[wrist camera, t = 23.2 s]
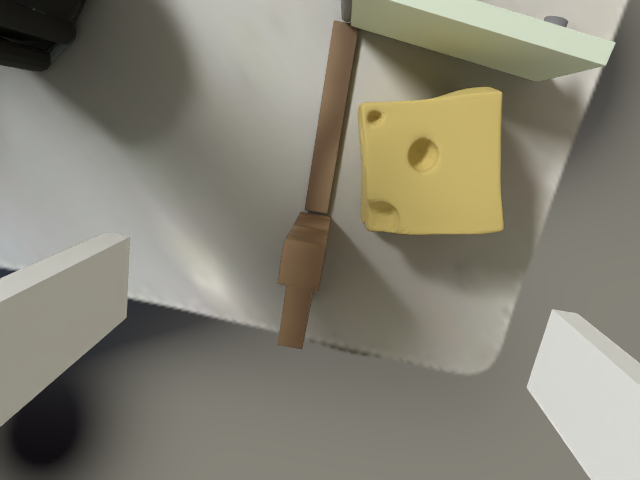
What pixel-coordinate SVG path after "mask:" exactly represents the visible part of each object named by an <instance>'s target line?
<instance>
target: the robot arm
mask: <svg viewBox="0 0 640 480" xmlns="http://www.w3.org/2000/svg"><path fill="white" fill-rule="evenodd" d="M129 249H130V237H129V236H123V235H117V234H111V233H104V234H101V235H99V236H97V237H94V238H92V239H90V240H87V241H85V242H83V243H81V244H78V245H76V246H74V247H71V248H69V249H67V250H64V251H62V252H60V253H58V254H55V255H53V256H51V257H48V258H46V259H44V260H42V261H39V262H37V263H35V264H32V265H30V266H28V267H25V268H23V269H21V270H19V271H16V272H14V273H12V274H9V275H7V276H5V277H2V278H0V426H1V425H3V424H4V423H5V422H6V421H7V420H8V419H10V417H12V416H13V415H14V414H15V413H16V412H18V411H19V410H20V409H21V408H22V407H23V406H24V405H26V404H27V403H28V402H29V401H30V400H32V399H33V398H34V397H35V396H36V395H37V394H38V393H40V392H41V391H42V390H43V389H44V388H45V387H46V386H48V385H49V384H50V383H51V382H52V381H54V380H55V379H56V378H57V377H58V376H59V375H60V374H61V373H63V372H64V371H65V370H66V369H67V368H69V367H70V366H71V365H72V364H73V363H74V362H75V361H77V360H78V359H79V358H80V357H81V356H82V355H84V354H85V353H86V352H87V351H88V350H89V349H91V348H92V347H93V346H94V345H95V344H96V343H97V342H99V341H100V340H101V339H102V338H103V337H104V336H105V335H107V334H108V333H109V332H110V331H111V330H112V329H114V328H115V327H116V326H117V325H118V324H119V323H121V322H122V321H123V320H124V319H125V318H126V313H127V292H128V270H129ZM527 389H528V390H529V392H530V393H531V395H532V396H533V397H534V399H535V400H536V402H537V403H538V405H539V406H540V407H541V409H542V410H543V412H544V413H545V415H546V416H547V417H548V419H549V420H550V422H551V423H552V424H553V426H554V427H555V429H556V430H557V432H558V433H559V434H560V436H561V437H562V439H563V440H564V442H565V443H566V445H567V446H568V447H569V449H570V450H571V452H572V453H573V455H574V456H575V457H576V459H577V460H578V462H579V463H580V465H581V466H582V467H583V469H584V470H585V472H586V473H587V475H588V476H589V477H590V479H591V480H640V363H639V362H637V361H636V360H635V359H634V358H632V357H631V356H630V355H629V354H627V353H626V352H625V351H623V350H622V349H621V348H620V347H619V346H617V345H616V344H615V343H614V342H612V341H611V340H610V339H609V338H607V337H606V336H605V335H604V334H602V333H601V332H600V331H599V330H597V329H596V328H595V327H593V326H592V325H591V324H590V323H589V322H587V321H586V320H585V319H584V318H582V317H581V316H580V315H579V314H577V313H571V312H565V311H560V310H554V309H552V312H551V315H550V318H549V321H548V324H547V327H546V330H545V333H544V336H543V339H542V342H541V345H540V348H539V351H538V355H537V357H536V360H535V363H534V367H533V370H532V373H531V376H530V379H529V382H528V385H527Z"/></svg>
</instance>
